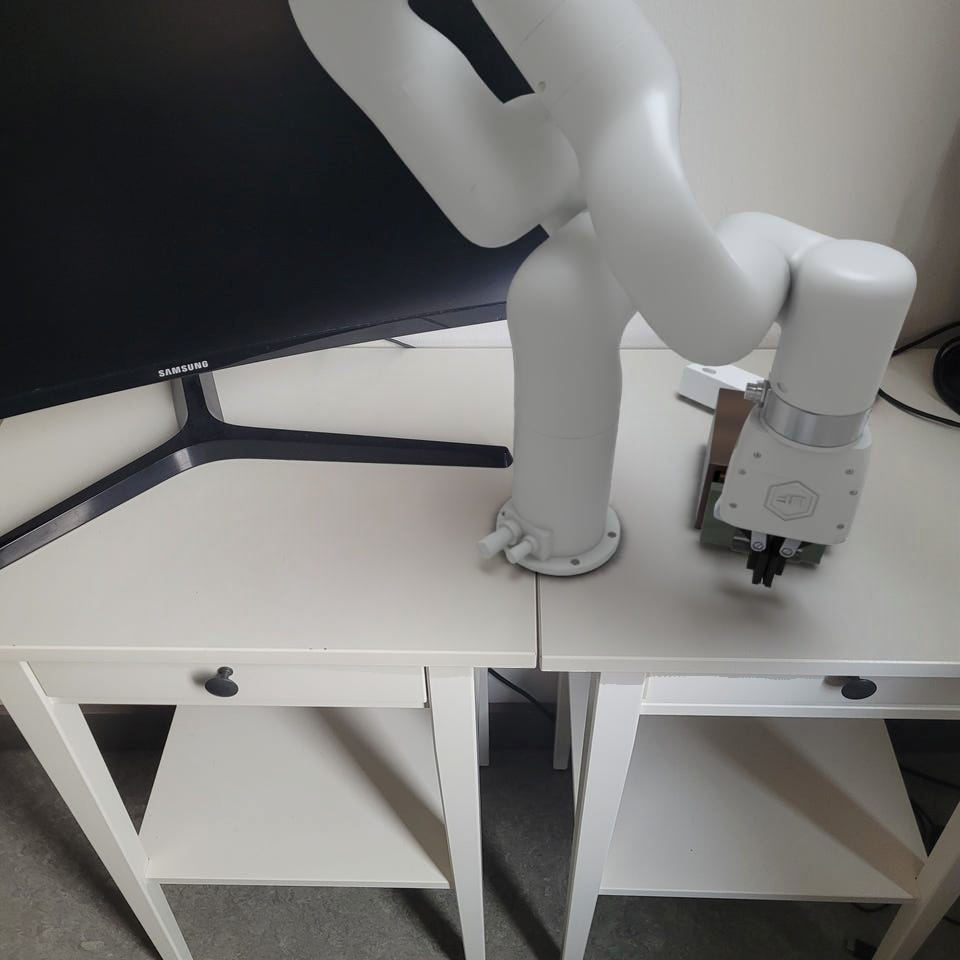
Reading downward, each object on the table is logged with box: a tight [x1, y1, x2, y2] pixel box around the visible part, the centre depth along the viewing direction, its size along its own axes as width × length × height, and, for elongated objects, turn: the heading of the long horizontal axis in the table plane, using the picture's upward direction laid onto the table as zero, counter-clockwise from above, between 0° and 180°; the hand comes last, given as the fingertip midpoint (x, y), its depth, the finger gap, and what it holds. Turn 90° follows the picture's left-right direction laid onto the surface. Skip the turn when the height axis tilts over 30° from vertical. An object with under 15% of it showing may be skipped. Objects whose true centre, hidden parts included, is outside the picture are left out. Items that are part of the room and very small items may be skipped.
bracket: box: [676, 363, 768, 410], centre depth 99 cm, size 13×7×8 cm, turn 46°
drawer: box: [698, 470, 827, 565], centre depth 81 cm, size 17×11×7 cm, turn 163°
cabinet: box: [694, 388, 757, 529], centre depth 85 cm, size 14×13×9 cm
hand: (761, 574), depth 73 cm, fingers closed
